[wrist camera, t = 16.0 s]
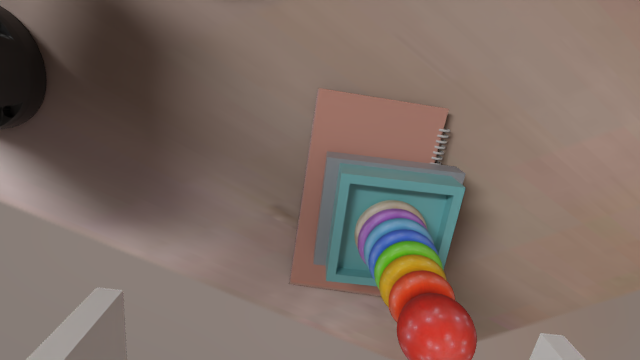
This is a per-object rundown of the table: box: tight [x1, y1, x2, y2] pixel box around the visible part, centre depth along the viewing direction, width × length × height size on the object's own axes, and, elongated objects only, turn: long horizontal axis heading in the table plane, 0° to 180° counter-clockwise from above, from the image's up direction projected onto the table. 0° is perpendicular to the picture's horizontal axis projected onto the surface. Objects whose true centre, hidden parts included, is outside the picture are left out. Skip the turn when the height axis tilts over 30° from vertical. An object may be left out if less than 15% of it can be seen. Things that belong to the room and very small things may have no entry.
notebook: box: [289, 88, 450, 297], centre depth 45 cm, size 27×17×2 cm, turn 171°
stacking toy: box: [354, 200, 477, 360], centre depth 30 cm, size 8×8×19 cm
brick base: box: [313, 151, 465, 286], centre depth 40 cm, size 16×14×7 cm
